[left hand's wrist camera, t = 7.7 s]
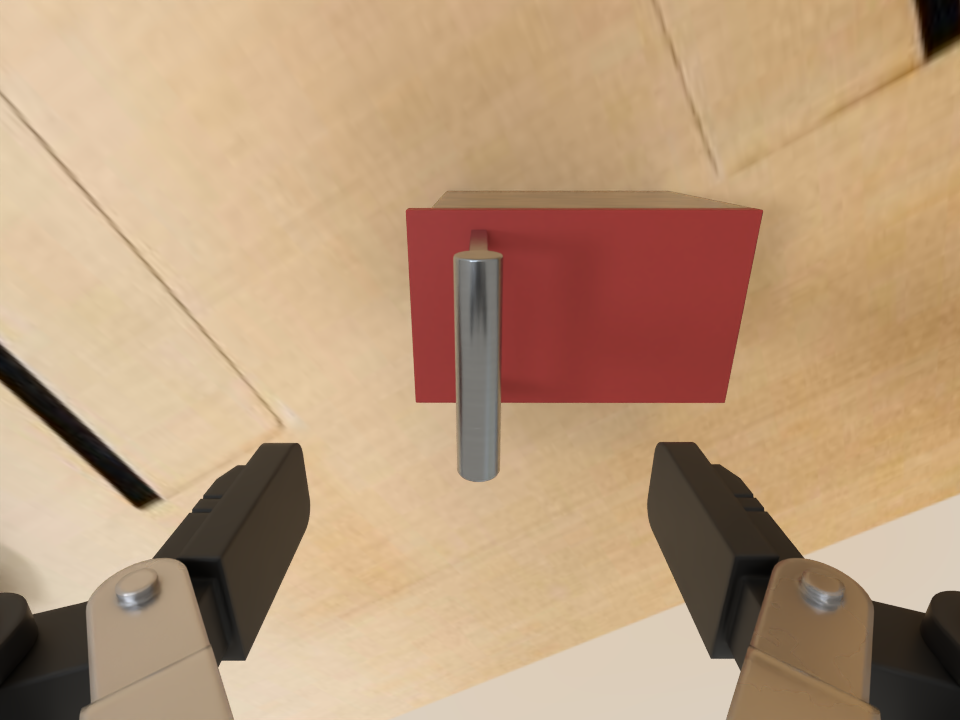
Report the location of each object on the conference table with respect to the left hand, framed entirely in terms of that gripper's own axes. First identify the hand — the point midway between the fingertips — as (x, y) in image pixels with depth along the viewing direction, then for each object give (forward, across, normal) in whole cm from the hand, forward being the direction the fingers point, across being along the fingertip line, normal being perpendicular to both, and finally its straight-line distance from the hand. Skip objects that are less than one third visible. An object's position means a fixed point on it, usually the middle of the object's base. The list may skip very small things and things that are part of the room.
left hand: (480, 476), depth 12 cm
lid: (+14, +4, 0) cm, 14 cm away
